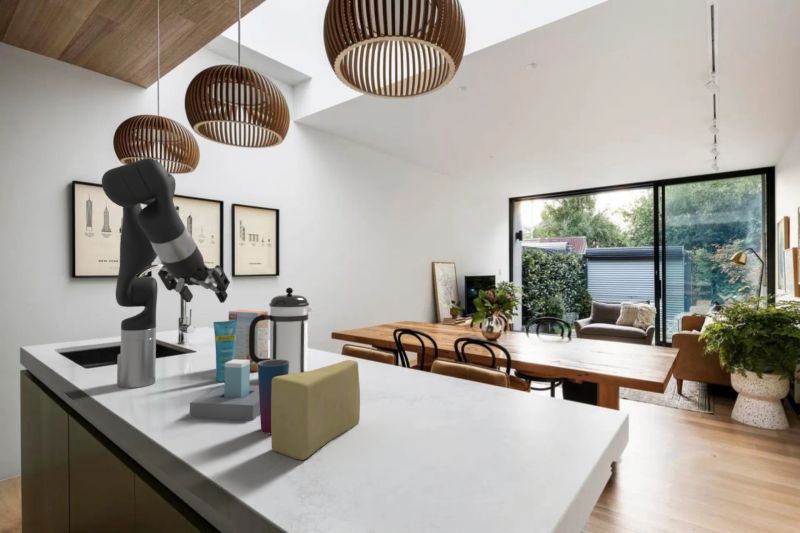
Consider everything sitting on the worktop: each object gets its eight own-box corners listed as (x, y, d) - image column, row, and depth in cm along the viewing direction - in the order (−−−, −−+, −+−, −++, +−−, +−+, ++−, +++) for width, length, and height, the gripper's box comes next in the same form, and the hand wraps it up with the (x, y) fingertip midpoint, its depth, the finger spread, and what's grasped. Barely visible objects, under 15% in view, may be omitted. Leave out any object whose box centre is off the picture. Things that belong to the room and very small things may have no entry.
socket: (189, 417, 101) (189, 400, 101) (224, 397, 117) (224, 382, 117) (252, 419, 99) (253, 403, 99) (279, 399, 115) (279, 384, 115)
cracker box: (268, 368, 150) (269, 311, 150) (256, 372, 145) (257, 312, 145) (240, 364, 156) (240, 309, 156) (227, 368, 150) (227, 310, 151)
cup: (294, 425, 95) (295, 360, 96) (276, 437, 89) (277, 367, 89) (269, 422, 98) (270, 358, 98) (250, 432, 91) (251, 364, 91)
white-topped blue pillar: (224, 410, 106) (224, 363, 106) (233, 404, 110) (233, 359, 110) (241, 411, 105) (241, 363, 105) (249, 405, 110) (249, 359, 110)
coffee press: (289, 369, 149) (290, 286, 149) (320, 376, 140) (321, 287, 140) (247, 379, 135) (248, 287, 135) (278, 388, 126) (279, 289, 126)
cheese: (342, 417, 101) (342, 356, 101) (373, 426, 96) (374, 361, 96) (268, 450, 83) (269, 375, 83) (302, 463, 77) (303, 382, 78)
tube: (215, 383, 130) (216, 322, 130) (210, 380, 134) (211, 320, 134) (239, 379, 135) (240, 320, 135) (233, 376, 139) (234, 319, 139)
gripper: (216, 237, 89) (240, 288, 101) (154, 237, 91) (185, 287, 102) (201, 261, 84) (229, 312, 95) (136, 261, 85) (171, 311, 97)
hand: (206, 299), depth 99 cm, fingers open, 8 cm apart
